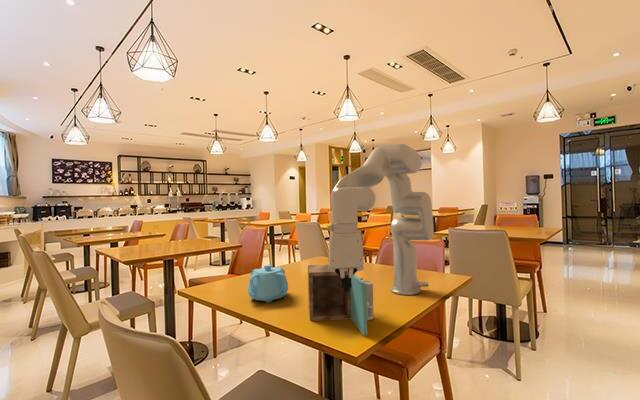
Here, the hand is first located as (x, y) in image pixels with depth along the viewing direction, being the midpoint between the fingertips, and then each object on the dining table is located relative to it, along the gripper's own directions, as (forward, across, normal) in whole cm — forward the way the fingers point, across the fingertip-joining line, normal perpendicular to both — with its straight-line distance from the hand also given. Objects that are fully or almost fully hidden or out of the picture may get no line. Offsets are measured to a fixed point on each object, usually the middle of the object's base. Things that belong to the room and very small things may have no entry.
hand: (346, 290), depth 98 cm
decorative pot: (+13, -27, +38) cm, 49 cm away
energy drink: (+13, +8, +12) cm, 19 cm away
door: (+13, +5, +4) cm, 14 cm away
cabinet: (+13, -4, +17) cm, 22 cm away
